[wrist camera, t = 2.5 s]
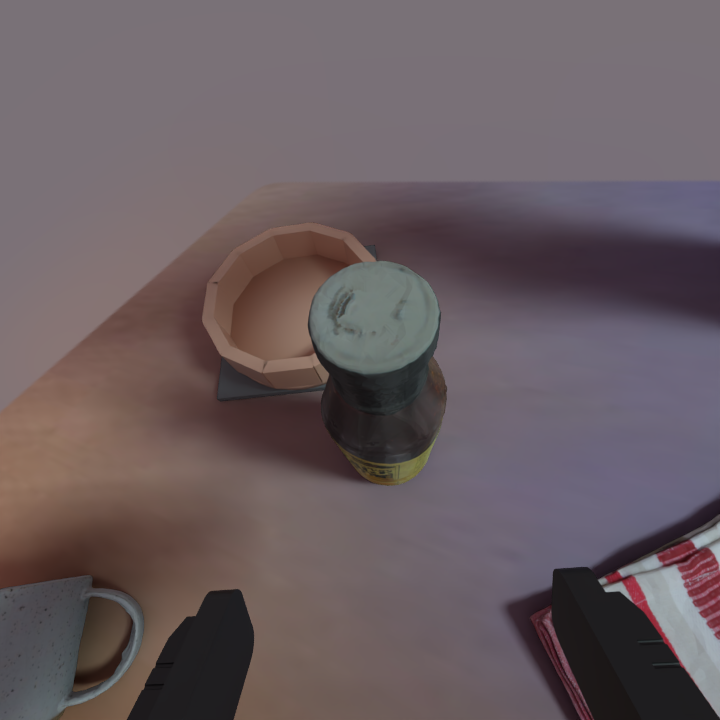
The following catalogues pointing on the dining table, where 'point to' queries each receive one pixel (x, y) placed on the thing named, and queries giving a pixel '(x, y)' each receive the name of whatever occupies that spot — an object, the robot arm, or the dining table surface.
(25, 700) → the ceramic mug
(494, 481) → the dining table surface
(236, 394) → the mat
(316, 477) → the dining table surface
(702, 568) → the dish towel
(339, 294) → the sauce bottle
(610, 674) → the robot arm
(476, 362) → the dining table surface
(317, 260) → the bowl
